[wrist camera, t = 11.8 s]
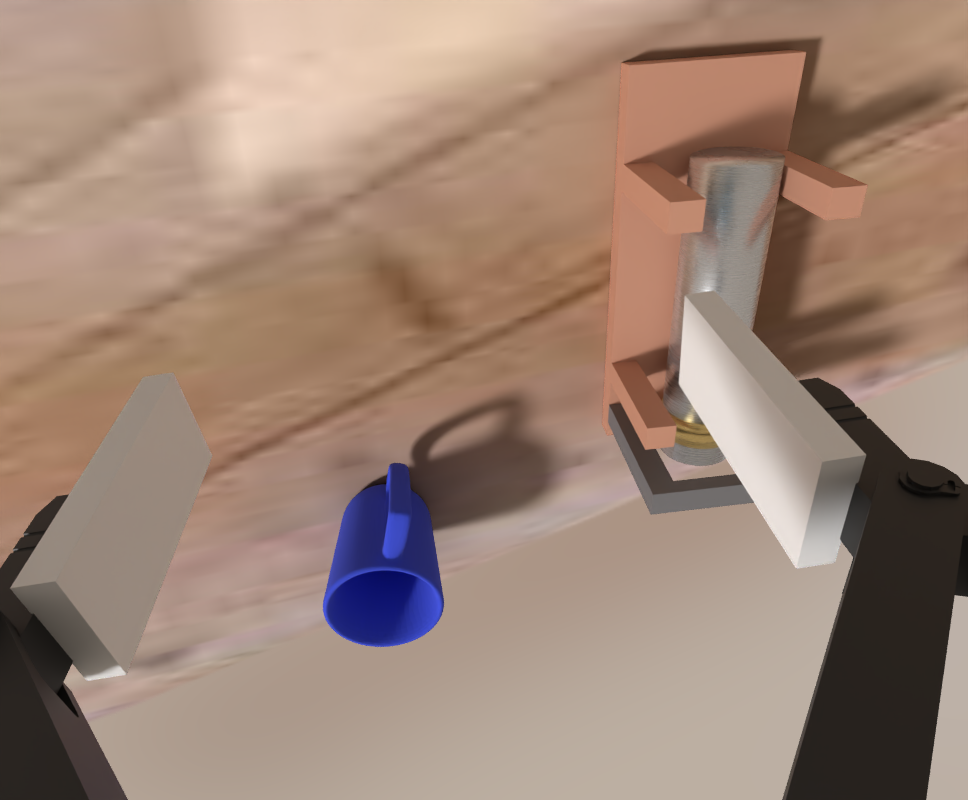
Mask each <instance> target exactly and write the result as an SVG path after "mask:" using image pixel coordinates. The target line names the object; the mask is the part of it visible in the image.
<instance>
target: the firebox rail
mask: <svg viewBox="0 0 968 800" xmlns="http://www.w3.org/2000/svg"><path fill="white" fill-rule="evenodd" d="M805 57H806V52H803V51H797V50H784V51H771V52H757V53H744V54H731V55H717V56H704V57H691V58H677V59H664V60H651V61H638V62H624V63H621V82H620V101H619V119H618V138H617V156H616V175H615V194H614V212H613V231H612V249H611V268H610V287H609V305H608V324H607V343H606V361H605V380H604V398H603V417H602V425H603V427H604V429H605V432H606V434H607V435H614V436H615V439H616V441H617V443H618V445H619V447H620V449H621V451H622V454H623V456H624V458H625V460H626V462H627V464H628V467H629V469H630V471H631V473H632V475H633V477H634V479H635V482H636V484H637V486H638V488H639V490H640V492H641V494H642V497H643V499H644V501H645V503H646V505H647V507H648V509H649V512H650V514H659V513H667V512H677V511H685V510H694V509H702V508H711V507H720V506H728V505H737V504H746V503H754V501H753V500H752V498H751V497H750V495H749V494H748V492H747V490H746V489H745V487H744V486H743V484H742V483H741V481H740V479H739V478H738V476H737V475H736V474H733V475H724V476H715V477H707V478H698V479H689V480H680V481H673V480H672V478H671V476H670V474H669V472H668V471H667V469H666V467H665V465H664V463H663V461H662V460H661V458H660V456H659V454H658V452H657V450H656V449H658V448H667V447H674V443H675V435H676V427H677V425H676V423H675V422H674V420H673V419H672V417H671V415H670V414H669V412H668V411H667V409H666V407H665V406H664V404H663V402H662V398H663V393H664V384H665V375H666V366H667V357H668V348H669V339H670V330H671V321H672V312H673V303H674V294H675V286H676V277H677V268H678V259H679V250H680V241H681V233H692V232H702V229H703V222H704V214H705V207H706V199H705V198H704V197H702V196H701V195H700V194H698V193H697V192H695V191H694V190H693V189H691V188H690V187H688V186H687V178H688V169H689V160H690V155H691V154H692V153H694V152H696V151H699V150H703V149H708V148H715V147H755V148H763V149H769V150H773V151H777V152H779V153H782V154H783V155H784V156H785V162H784V167H783V173H782V178H781V183H780V189H779V194H778V197H779V195H781V196H783V197H784V198H786V199H788V200H790V201H792V202H793V203H795V204H797V205H799V206H801V207H802V208H804V209H806V210H808V211H810V212H811V213H813V214H815V215H817V216H819V217H820V218H822V219H824V220H835V219H846V218H857V217H860V214H861V210H862V206H863V203H864V199H865V195H866V191H867V188H868V185H867V184H864V183H862V182H860V181H857V180H855V179H853V178H850V177H848V176H846V175H843V174H841V173H839V172H836V171H834V170H832V169H829V168H827V167H825V166H822V165H820V164H818V163H815V162H813V161H811V160H809V159H806V158H804V157H802V156H799V155H797V154H795V153H792V152H790V151H788V145H789V140H790V135H791V130H792V124H793V119H794V114H795V109H796V103H797V98H798V93H799V88H800V83H801V77H802V72H803V67H804V62H805ZM777 203H778V199H777ZM776 208H777V205H776ZM775 213H776V210H775ZM774 218H775V215H774ZM773 224H774V220H773ZM772 229H773V226H772ZM771 234H772V231H771ZM770 239H771V236H770ZM769 244H770V242H769ZM768 250H769V247H768ZM767 255H768V252H767ZM766 260H767V258H766ZM765 265H766V263H765ZM764 270H765V268H764ZM763 276H764V273H763ZM762 281H763V279H762ZM761 286H762V284H761ZM760 291H761V289H760ZM759 297H760V295H759ZM758 302H759V300H758ZM757 307H758V305H757ZM756 312H757V311H756ZM755 317H756V316H755ZM754 323H755V321H754ZM753 328H754V326H753Z"/></svg>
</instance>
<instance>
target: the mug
mask: <svg viewBox="0 0 968 800" xmlns="http://www.w3.org/2000/svg"><path fill="white" fill-rule="evenodd" d="M443 607H444V598H443V592H442V586H441V579H440V573H439V567H438V561H437V554H436V548H435V542H434V536H433V529H432V523H431V518H430V513H429V511H428V508H427V506H426V504H425V503H424V501H423V500H422V499H421V497H420V496H419V495H417V494H416V493H415V492H413V491H412V490H411V489H410V477H409V470H408V467H407V466H406V465H405V464H401V463H392V464H391V465H390V466H389V469H388V475H387V483H386V484H382V485H376V486H372V487H369V488H367V489H365V490H363V491H361V492H360V493H358V494H357V495H356V496H355V497H354V498H353V499H352V500H351V501H350V503H349V504H348V506H347V508H346V510H345V512H344V515H343V519H342V523H341V527H340V532H339V536H338V540H337V545H336V549H335V553H334V558H333V562H332V566H331V571H330V575H329V579H328V584H327V588H326V592H325V597H324V601H323V612H324V616H325V619H326V621H327V622H328V624H329V625H330V627H331V628H332V629H333V630H334V631H335V632H336V633H337V634H339V635H340V636H342V637H343V638H345V639H347V640H350V641H352V642H355V643H358V644H361V645H366V646H375V647H386V646H395V645H400V644H404V643H408V642H411V641H413V640H416V639H418V638H419V637H421V636H423V635H425V634H426V633H427V632H429V631H430V630H431V629H432V628H433V627H434V626H435V625H436V624H437V622H438V621H439V619H440V617H441V615H442V612H443Z"/></svg>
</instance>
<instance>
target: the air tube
mask: <svg viewBox="0 0 968 800" xmlns="http://www.w3.org/2000/svg"><path fill="white" fill-rule="evenodd" d="M784 162H785V156H784V155H783V154H782V153H779V152H777V151H773V150H769V149H763V148H755V147H715V148H708V149H703V150H699V151H696V152H694V153H692V154H691V155H690V160H689V169H688V178H687V186H688V187H690V188H691V189H693V190H694V191H695V192H697V193H698V194H700V195H701V196H702V197H704V198H705V199H706V207H705V214H704V222H703V229H702V232H692V233H681V241H680V250H679V259H678V268H677V277H676V286H675V294H674V303H673V312H672V321H671V330H670V339H669V348H668V357H667V366H666V375H665V384H664V393H663V398H662V402H663V404H664V406H665V407H666V409H667V411H668V412H669V414H670V415H671V417H672V419H673V420H674V422H675V423H676V425H677V427H676V435H675V443H674V447H667V448H661V450H662V451H663V452H664V453H665V454H666V455H667V456H668V457H670V458H672V459H674V460H676V461H678V462H681V463H684V464H688V465H695V466H707V465H713V464H716V463H719V462H721V461H723V460H724V459H725V458H726V457H725V456H724V454H723V453H722V451H721V450H720V448H719V446H718V445H717V443H716V442H715V440H714V439H713V437H712V435H711V434H710V432H709V431H708V429H707V428H706V426H705V424H704V423H703V421H702V420H701V418H700V417H699V415H698V414H697V412H696V410H695V409H694V407H693V406H692V404H691V403H690V401H689V399H688V398H687V396H686V395H685V393H684V392H683V390H682V388H681V387H680V385H679V373H680V359H681V344H682V329H683V315H684V300H685V295H687V294H694V293H700V292H707V291H715V292H716V293H717V294H718V295H719V296H720V297H721V298H722V299H723V300H724V301H725V302H726V304H727V305H728V306H729V307H730V308H731V309H732V310H733V311H734V312H735V313H736V314H737V315H738V317H739V318H740V319H741V320H742V321H743V322H744V323H745V324H746V325H747V326H748V327H749V328H750V330H751V331H752V332H753V326H754V321H755V316H756V311H757V305H758V300H759V295H760V289H761V284H762V279H763V273H764V268H765V263H766V258H767V252H768V247H769V242H770V236H771V231H772V226H773V220H774V215H775V210H776V205H777V199H778V194H779V189H780V183H781V178H782V173H783V167H784Z"/></svg>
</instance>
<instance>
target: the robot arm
mask: <svg viewBox="0 0 968 800" xmlns="http://www.w3.org/2000/svg"><path fill="white" fill-rule="evenodd" d="M679 385H680V387H681V388H682V390H683V392H684V393H685V395H686V396H687V398H688V399H689V401H690V403H691V404H692V406H693V407H694V409H695V410H696V412H697V414H698V415H699V417H700V418H701V420H702V421H703V423H704V424H705V426H706V428H707V429H708V431H709V432H710V434H711V435H712V437H713V439H714V440H715V442H716V443H717V445H718V446H719V448H720V450H721V451H722V453H723V454H724V456H725V457H726V459H727V461H728V462H729V464H730V465H731V467H732V468H733V470H734V472H735V473H736V475H737V476H738V478H739V479H740V481H741V483H742V484H743V486H744V487H745V489H746V490H747V492H748V494H749V495H750V497H751V498H752V500H753V501H754V503H755V504H756V506H757V508H758V509H759V511H760V512H761V514H762V515H763V517H764V519H765V520H766V522H767V523H768V525H769V526H770V528H771V530H772V531H773V533H774V534H775V536H776V537H777V539H778V541H779V542H780V544H781V545H782V547H783V548H784V550H785V551H786V553H787V555H788V556H789V558H790V559H791V561H792V562H793V564H794V566H795V567H796V569H798V568H804V567H810V566H816V565H823V564H829V563H835V560H836V557H837V554H838V550H839V547H840V544H841V541H842V543H843V544H844V545H845V547H846V548H847V549H848V551H849V552H850V553H851V555H852V556H853V561H852V564H851V567H850V570H849V573H848V577H847V580H846V583H845V586H844V589H843V592H842V598H841V601H840V604H839V608H838V611H837V615H836V618H835V622H834V625H833V629H832V632H831V635H830V639H829V642H828V645H827V649H826V652H825V656H824V659H823V663H822V666H821V669H820V673H819V676H818V680H817V683H816V686H815V690H814V694H813V697H812V700H811V704H810V707H809V711H808V714H807V717H806V721H805V724H804V728H803V731H802V734H801V738H800V741H799V745H798V748H797V751H796V755H795V759H794V762H793V765H792V769H791V772H790V776H789V779H788V782H787V786H786V789H785V792H784V796H783V799H782V800H926V796H927V789H928V782H929V775H930V768H931V761H932V753H933V746H934V739H935V732H936V724H937V717H938V710H939V703H940V695H941V689H942V681H943V674H944V667H945V660H946V653H947V645H948V638H949V630H950V624H951V617H952V609H953V602H954V595H958V596H967V597H968V485H967V484H964V482H963V481H962V480H961V479H960V478H959V477H958V476H957V475H956V474H954V473H953V472H951V471H950V470H948V469H946V468H945V467H943V466H940V465H937V464H934V463H931V462H929V461H924V460H917V459H910V458H909V457H908V456H907V455H906V454H905V453H904V452H903V451H902V450H901V449H900V448H899V447H898V446H897V445H895V443H894V442H893V441H892V440H891V439H890V438H889V437H887V435H885V433H883V431H882V430H881V429H880V428H879V427H878V426H877V425H875V423H874V422H872V420H871V419H867V416H866V415H865V414H864V412H862V411H861V409H860V408H858V407H855V404H854V403H853V402H852V401H851V400H850V399H849V398H848V397H847V396H846V395H845V394H844V393H843V392H842V391H841V390H840V389H839V388H837V387H835V386H833V385H831V384H829V383H827V382H825V381H823V380H821V379H820V378H813V379H806V380H800V381H798V380H797V379H796V378H795V377H794V376H793V375H792V374H791V373H790V372H789V371H788V370H787V368H786V367H785V366H784V365H783V364H782V363H781V362H780V361H779V360H778V359H777V358H776V357H775V355H774V354H773V353H772V352H771V351H770V350H769V349H768V348H767V347H766V346H765V345H764V344H763V342H762V341H761V340H760V339H759V338H758V337H757V336H756V335H755V334H754V333H753V332H752V331H751V330H750V328H749V327H748V326H747V325H746V324H745V323H744V322H743V321H742V320H741V319H740V318H739V317H738V315H737V314H736V313H735V312H734V311H733V310H732V309H731V308H730V307H729V306H728V305H727V304H726V302H725V301H724V300H723V299H722V298H721V297H720V296H719V295H718V294H717V293H716V292H715V291H707V292H700V293H694V294H687V295H685V300H684V315H683V329H682V344H681V359H680V373H679ZM211 458H212V454H211V452H210V450H209V448H208V445H207V443H206V441H205V439H204V437H203V435H202V433H201V430H200V428H199V426H198V424H197V422H196V420H195V418H194V416H193V413H192V411H191V409H190V407H189V405H188V403H187V401H186V398H185V396H184V394H183V392H182V390H181V388H180V386H179V384H178V381H177V379H176V377H175V375H174V373H166V374H160V375H153V376H147V377H143V378H142V380H141V381H140V383H139V384H138V386H137V388H136V389H135V391H134V392H133V394H132V395H131V397H130V399H129V400H128V402H127V403H126V405H125V407H124V408H123V410H122V411H121V413H120V415H119V416H118V418H117V419H116V421H115V422H114V424H113V426H112V427H111V429H110V430H109V432H108V434H107V435H106V437H105V438H104V440H103V441H102V443H101V445H100V446H99V448H98V449H97V451H96V453H95V454H94V456H93V457H92V459H91V461H90V462H89V464H88V465H87V467H86V468H85V470H84V472H83V473H82V475H81V476H80V478H79V480H78V481H77V483H76V484H75V486H74V488H73V489H72V491H71V492H70V494H69V495H63V496H57V497H56V498H55V499H53V500H52V501H51V502H50V503H49V504H48V505H47V506H46V507H44V508H43V509H42V510H41V511H40V512H39V513H38V514H36V516H35V517H34V519H33V520H32V522H31V523H30V525H29V526H28V528H27V529H26V531H25V532H24V537H22V538H20V540H19V541H18V543H17V544H16V546H15V547H14V549H13V551H14V552H13V553H10V555H9V556H8V558H7V559H6V561H5V562H4V564H3V565H2V567H1V568H0V800H128V799H127V797H126V795H125V794H124V791H123V790H122V788H121V786H120V784H119V782H118V780H117V778H116V776H115V774H114V772H113V770H112V769H111V766H110V765H109V763H108V761H107V759H106V757H105V755H104V753H103V751H102V749H101V748H100V745H99V743H98V742H97V740H96V738H95V736H94V734H93V732H92V730H91V728H90V726H89V724H88V722H87V720H86V718H85V717H84V715H83V713H82V711H81V709H80V707H79V705H78V703H77V701H76V699H75V697H74V695H73V694H72V692H71V690H70V689H69V688H68V687H67V686H66V685H65V684H64V679H65V677H66V675H67V673H68V671H69V669H70V667H71V665H72V663H73V665H74V666H75V667H76V668H77V669H78V671H79V672H80V673H81V674H82V675H83V677H84V678H85V679H86V680H87V681H90V680H96V679H102V678H109V677H115V676H121V675H127V673H128V670H129V668H130V665H131V662H132V660H133V657H134V655H135V652H136V650H137V647H138V645H139V642H140V639H141V637H142V634H143V632H144V629H145V627H146V624H147V622H148V619H149V616H150V614H151V611H152V609H153V606H154V604H155V601H156V599H157V596H158V593H159V591H160V588H161V586H162V583H163V581H164V578H165V576H166V573H167V570H168V568H169V565H170V563H171V560H172V558H173V555H174V553H175V550H176V547H177V545H178V542H179V540H180V537H181V535H182V532H183V530H184V527H185V524H186V522H187V519H188V517H189V514H190V512H191V509H192V507H193V504H194V501H195V499H196V496H197V494H198V491H199V489H200V486H201V484H202V481H203V478H204V476H205V473H206V471H207V468H208V466H209V463H210V461H211Z"/></svg>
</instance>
